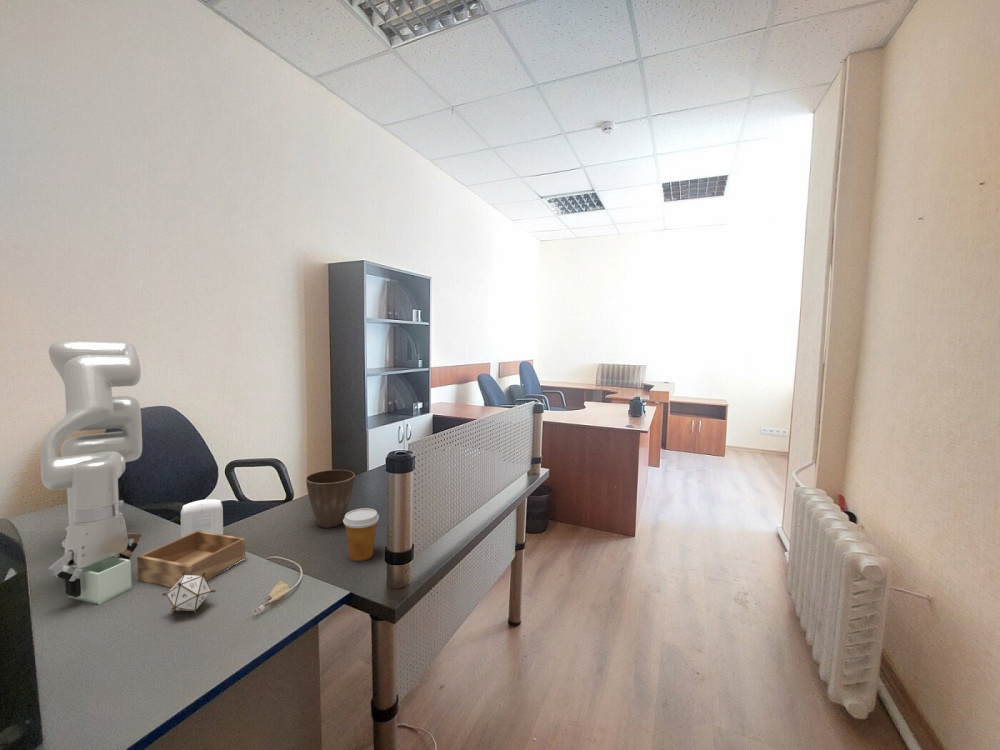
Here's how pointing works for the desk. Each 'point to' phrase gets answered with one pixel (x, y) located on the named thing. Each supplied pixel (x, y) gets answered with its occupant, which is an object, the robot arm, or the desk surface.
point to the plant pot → (330, 495)
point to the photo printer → (202, 517)
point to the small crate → (104, 580)
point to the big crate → (190, 558)
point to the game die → (189, 592)
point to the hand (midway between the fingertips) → (100, 583)
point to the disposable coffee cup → (361, 532)
